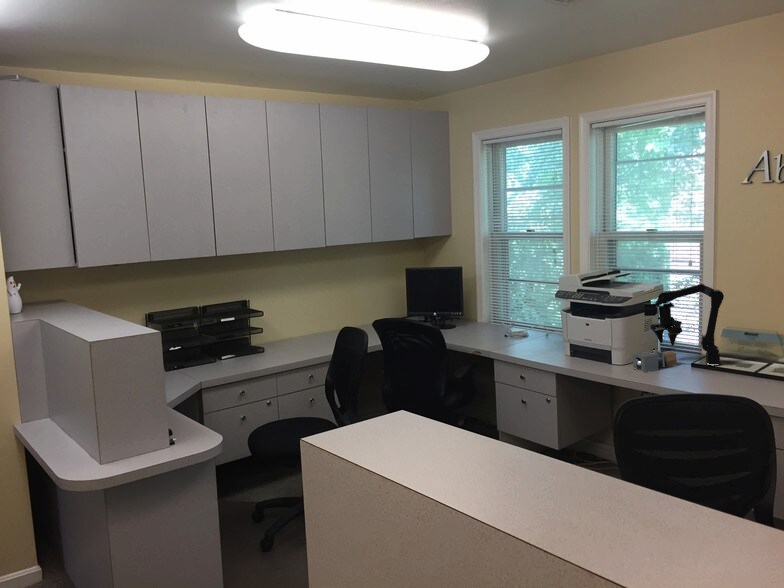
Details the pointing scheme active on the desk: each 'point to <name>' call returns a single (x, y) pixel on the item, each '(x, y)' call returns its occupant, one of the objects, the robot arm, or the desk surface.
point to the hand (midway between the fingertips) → (667, 344)
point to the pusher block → (670, 359)
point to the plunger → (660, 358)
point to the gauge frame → (645, 361)
